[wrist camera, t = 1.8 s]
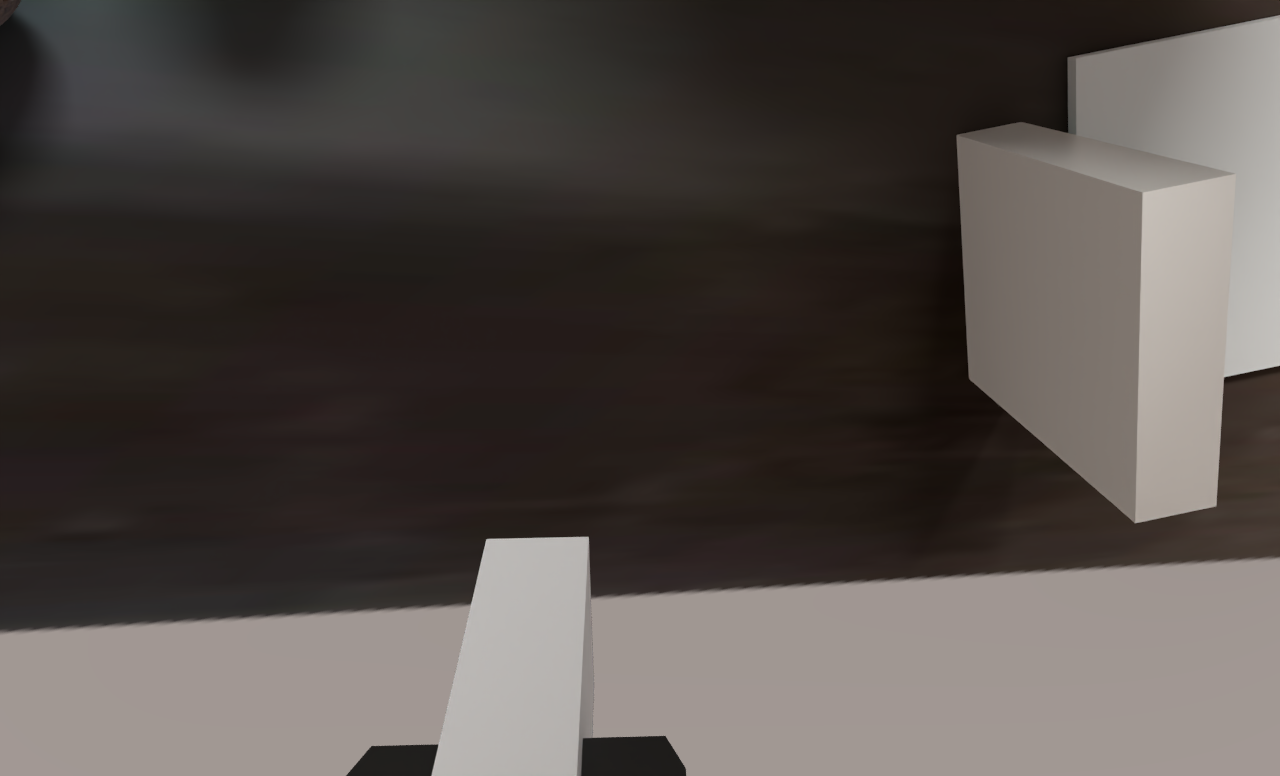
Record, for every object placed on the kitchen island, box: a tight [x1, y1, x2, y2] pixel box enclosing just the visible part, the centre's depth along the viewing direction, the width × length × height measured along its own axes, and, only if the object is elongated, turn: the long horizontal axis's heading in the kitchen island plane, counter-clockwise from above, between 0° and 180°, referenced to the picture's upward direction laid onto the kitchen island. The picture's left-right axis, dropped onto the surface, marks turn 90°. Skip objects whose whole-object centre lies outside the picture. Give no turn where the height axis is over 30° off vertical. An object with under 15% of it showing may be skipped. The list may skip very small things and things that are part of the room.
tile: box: [956, 122, 1236, 523], centre depth 32 cm, size 3×10×12 cm, turn 10°
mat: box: [1068, 15, 1280, 377], centre depth 38 cm, size 16×14×1 cm
